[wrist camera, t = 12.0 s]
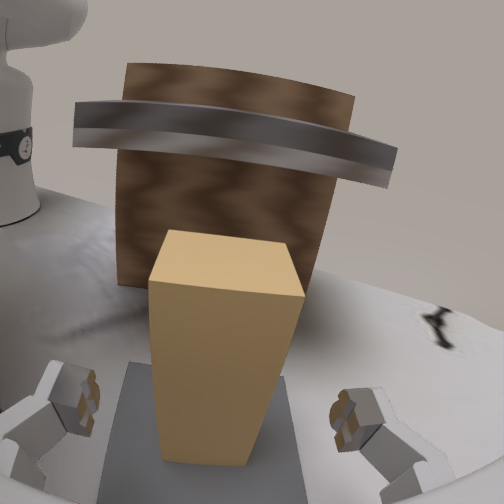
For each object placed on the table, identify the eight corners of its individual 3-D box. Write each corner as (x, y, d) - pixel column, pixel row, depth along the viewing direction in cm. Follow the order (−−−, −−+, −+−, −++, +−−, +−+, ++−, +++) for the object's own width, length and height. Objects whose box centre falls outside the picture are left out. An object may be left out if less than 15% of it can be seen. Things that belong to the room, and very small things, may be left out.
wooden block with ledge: (90, 343, 23) (82, 49, 13) (131, 257, 37) (144, 68, 27) (322, 365, 26) (408, 98, 16) (292, 276, 39) (334, 96, 30)
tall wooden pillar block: (162, 460, 15) (148, 280, 9) (167, 410, 19) (168, 229, 13) (245, 466, 16) (305, 296, 10) (241, 416, 19) (285, 243, 14)
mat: (98, 507, 11) (96, 505, 11) (129, 366, 22) (129, 361, 22) (307, 520, 13) (310, 517, 13) (281, 380, 24) (283, 376, 23)
